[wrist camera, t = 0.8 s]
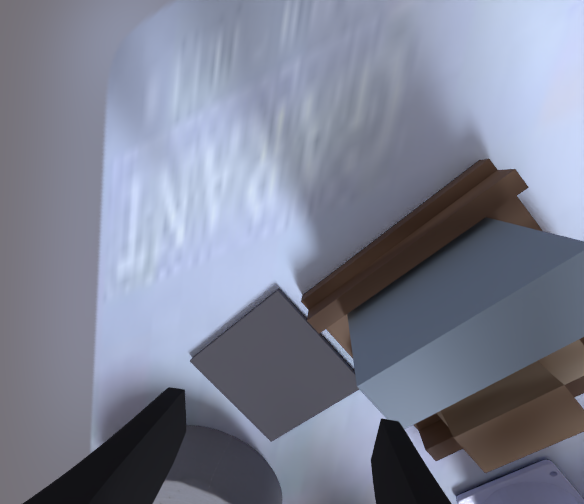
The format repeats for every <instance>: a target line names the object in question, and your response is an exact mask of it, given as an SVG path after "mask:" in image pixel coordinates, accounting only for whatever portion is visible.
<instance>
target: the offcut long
mask: <svg viewBox="0 0 584 504" xmlns="http://www.w3.org/2000/svg"><path fill="white" fill-rule="evenodd" d="M537 362H539V363H540V364H541V365H542V366H543V367H544V368H545V369H547V370H548V371H549V372H550V373H551V374H552V375H553V376H555V377H556V378H557V379H558V380H559V381H560V382H561V383H563V384H564V385H565V384H567V383H570V382H572V381H574V380H576V379H578V378H580V377H582V376H584V345H583V343H582V342H581V341H580V339H579V340H577V341H575V342H573V343H571V344H569V345H567V346H565V347H563V348H561V349H559V350H557V351H555V352H553V353H551V354H550V355H548V356H546V357H544V358H542V359H540V360H538V361H537ZM437 414H438V416H439V417H440V418H441V419H442V420H443V421H444V422H445V423H446V421H445V419H444V417H443V415H442V413H441V411H439V412H437ZM446 425H447V423H446ZM447 426H448V425H447Z"/></svg>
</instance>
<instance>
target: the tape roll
mask: <svg viewBox="0 0 584 504" xmlns="http://www.w3.org/2000/svg"><path fill="white" fill-rule="evenodd" d="M153 504H282V491H281V487H280V484H279V481H278V479H277V477H276V475H275V473H274V471H273V470H272V468H271V467H270V465H269V464H268V463H267V462H266V460H265V459H264V458H263V457H262V456H261V455H260V454H259V453H258V452H256V451H255V450H254V449H253V448H252V447H250V446H249V445H247V444H246V443H244V442H243V441H241V440H239V439H238V438H236V437H234V436H231V435H229V434H226V433H224V432H221V431H218V430H215V429H211V428H207V427H201V426H186V434H185V436H184V439H183V441H182V444H181V446H180V449H179V451H178V454H177V456H176V458H175V461H174V463H173V465H172V467H171V469H170V471H169V473H168V475H167V477H166V479H165V481H164V483H163V485H162V487H161V489H160V491H159V493H158V494H157V496H156V498H155V500H154V502H153Z"/></svg>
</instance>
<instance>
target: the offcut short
mask: <svg viewBox="0 0 584 504" xmlns="http://www.w3.org/2000/svg"><path fill="white" fill-rule="evenodd" d="M441 413H442V415H443V417H444V419H445V421H446V423H447V425H448V427H449V429H450V431H451V433H452V436H453V438H454V439H455V440H456V441H457V442H458V443H459V444H460V446H461V447H462V448H463V449H464V450H465V451H466V452H467V453H468V455H469V456H470V457H471V458H472V459H473V460H474V461H475V462H476V463H477V465H478V466H479V467H480V468H481V469H482V470H483V471H484V472H485V473H487V472H489V471H492V470H494V469H497V468H499V467H501V466H504V465H506V464H508V463H511V462H513V461H515V460H518V459H520V458H522V457H525V456H527V455H530V454H532V453H534V452H537V451H539V450H541V449H544V448H546V447H548V446H551V445H553V444H556V443H558V442H560V441H563V440H565V439H567V438H570V437H572V436H574V435H577V434H579V433H581V432H584V409H583V408H582V407H581V405H580V404H579V403H578V402H577V400H576V399H575V398H574V397H573V395H572V394H571V393H570V392H569V390H568V389H567V388H566V387H565V385H564V384H563V383H561V382H560V381H559V380H558V379H557V378H556V377H555V376H553V375H552V374H551V373H550V372H549V371H548V370H547V369H545V368H544V367H543V366H542V365H541V364H540V363H539V362H537V361H536V362H534V363H532V364H530V365H528V366H526V367H524V368H522V369H520V370H519V371H517V372H515V373H513V374H511V375H509V376H507V377H505V378H503V379H501V380H499V381H497V382H495V383H493V384H491V385H489V386H487V387H486V388H484V389H482V390H480V391H478V392H476V393H474V394H472V395H470V396H468V397H466V398H464V399H462V400H460V401H458V402H456V403H455V404H453V405H451V406H449V407H447V408H445V409H443V410H441Z"/></svg>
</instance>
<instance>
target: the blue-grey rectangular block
mask: <svg viewBox="0 0 584 504" xmlns="http://www.w3.org/2000/svg"><path fill="white" fill-rule="evenodd" d="M347 317H348V324H349V332H350V339H351V346H352V354H353V361H354V369H355V376H356V383H357V387H358V388H359V389H360V390H361V391H362V393H363V394H364V395H365V396H366V397H367V398H368V399H369V400H370V401H371V402H372V403H373V404H374V406H375V407H376V408H377V409H378V410H379V411H380V412H381V413H382V414H383V415H384V416H385V417H386V419H387V420H394V421H399V422H400V424H401V425H402V427H403V428H404V429H406V428H408V427H410V426H412V425H414V424H416V423H418V422H420V421H422V420H424V419H425V418H427V417H429V416H431V415H433V414H435V413H437V412H439V411H441V410H443V409H445V408H447V407H449V406H451V405H453V404H455V403H456V402H458V401H460V400H462V399H464V398H466V397H468V396H470V395H472V394H474V393H476V392H478V391H480V390H482V389H484V388H486V387H487V386H489V385H491V384H493V383H495V382H497V381H499V380H501V379H503V378H505V377H507V376H509V375H511V374H513V373H515V372H517V371H519V370H520V369H522V368H524V367H526V366H528V365H530V364H532V363H534V362H536V361H538V360H540V359H542V358H544V357H546V356H548V355H550V354H551V353H553V352H555V351H557V350H559V349H561V348H563V347H565V346H567V345H569V344H571V343H573V342H575V341H577V340H579V339H581V338H582V337H584V241H580V240H576V239H572V238H568V237H564V236H559V235H555V234H551V233H547V232H543V231H539V230H535V229H531V228H527V227H523V226H519V225H515V224H511V223H507V222H503V221H499V220H495V219H491V218H487V217H485V218H484V219H483V220H481V221H480V222H478V223H477V224H475V225H474V226H473V227H471V228H470V229H468V230H467V231H465V232H464V233H462V234H461V235H460V236H458V237H457V238H455V239H454V240H452V241H451V242H450V243H448V244H447V245H445V246H444V247H442V248H441V249H440V250H438V251H437V252H435V253H434V254H432V255H431V256H430V257H428V258H427V259H425V260H424V261H422V262H421V263H420V264H418V265H417V266H415V267H414V268H412V269H411V270H410V271H408V272H407V273H405V274H404V275H402V276H401V277H399V278H398V279H397V280H395V281H394V282H392V283H391V284H389V285H388V286H387V287H385V288H384V289H382V290H381V291H379V292H378V293H377V294H375V295H374V296H372V297H371V298H369V299H368V300H367V301H365V302H364V303H362V304H361V305H359V306H358V307H357V308H355V309H354V310H352V311H351V312H349V313H348V314H347Z"/></svg>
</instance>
